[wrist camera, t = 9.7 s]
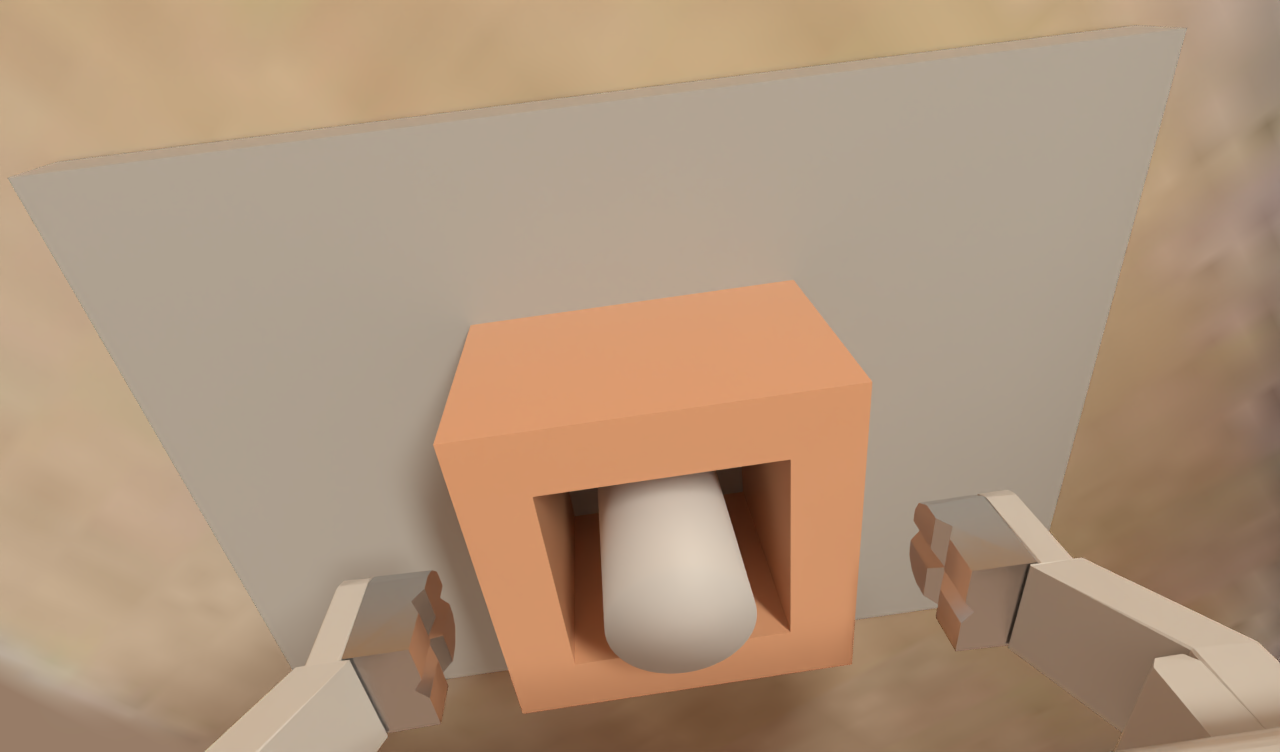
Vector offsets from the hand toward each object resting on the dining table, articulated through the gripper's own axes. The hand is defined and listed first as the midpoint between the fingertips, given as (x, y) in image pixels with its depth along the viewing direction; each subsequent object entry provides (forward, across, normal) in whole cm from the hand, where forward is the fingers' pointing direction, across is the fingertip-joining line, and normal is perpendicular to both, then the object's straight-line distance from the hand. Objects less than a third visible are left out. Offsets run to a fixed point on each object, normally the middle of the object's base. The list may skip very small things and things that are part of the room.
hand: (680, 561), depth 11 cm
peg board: (+5, 0, 0) cm, 5 cm away
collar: (+4, 0, 0) cm, 4 cm away
